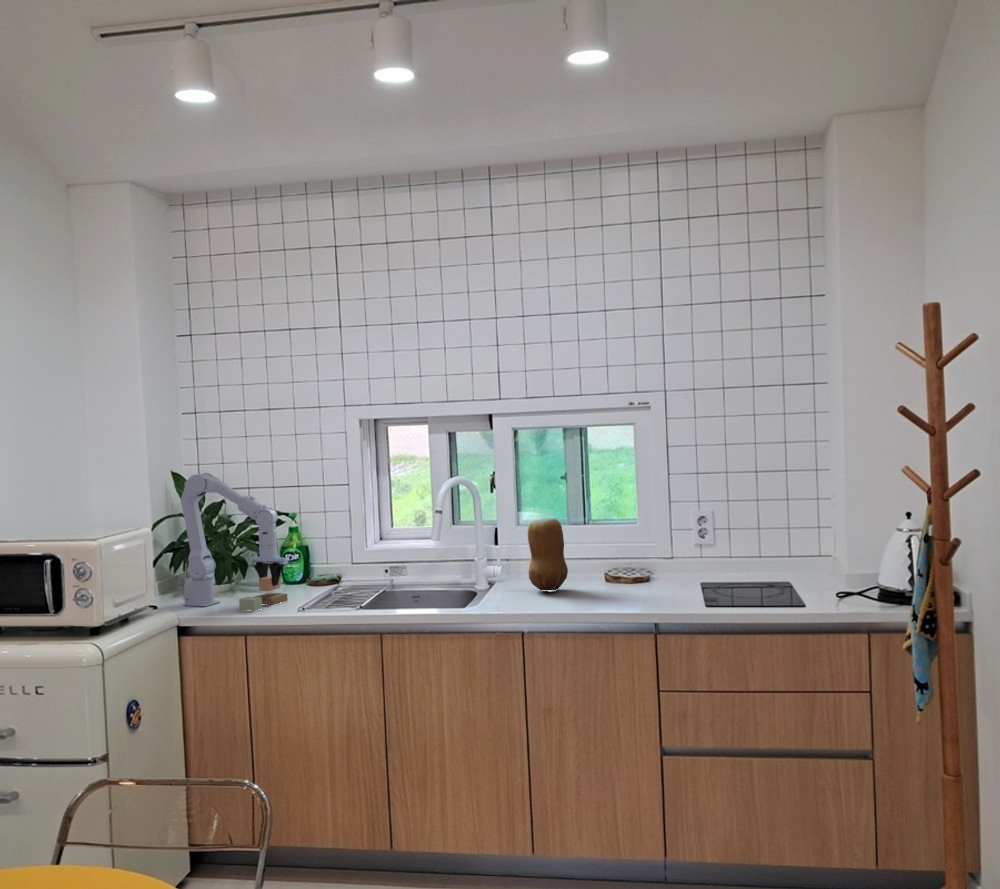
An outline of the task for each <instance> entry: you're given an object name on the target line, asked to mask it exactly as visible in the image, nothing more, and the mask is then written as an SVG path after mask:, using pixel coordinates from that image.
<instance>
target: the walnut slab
mask: <svg viewBox="0 0 1000 889" xmlns="http://www.w3.org/2000/svg"><path fill="white" fill-rule="evenodd" d="M254 597H259V598H262V604H267V605H274V604H277V603H280V602H284V601H287V600H288V593H284V592H282V593H281V592H280V593H279V592H265V593H262V594H258V595H255V596H254ZM287 602H288V601H287ZM284 603H285V602H284ZM274 606H275V605H274Z"/></svg>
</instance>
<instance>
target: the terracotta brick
mask: <svg viewBox="0 0 1000 889" xmlns="http://www.w3.org/2000/svg"><path fill="white" fill-rule="evenodd" d="M258 588H259V591H260V592H271V591H275V590H278V589H281V576H280V577H279V582H278V585H276V586H273V585H272V577H271V575H267V577H264V578H258Z"/></svg>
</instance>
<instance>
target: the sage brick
mask: <svg viewBox="0 0 1000 889" xmlns="http://www.w3.org/2000/svg"><path fill="white" fill-rule="evenodd" d="M238 601H239V602H238V603H239V604H238V606H239V611H240V610H251V611H255V610H258V609H261V608H262V609H263V605H262V598H259V597H255V596H245V597H243V598H239V599H238Z"/></svg>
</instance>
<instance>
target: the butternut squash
mask: <svg viewBox="0 0 1000 889" xmlns="http://www.w3.org/2000/svg"><path fill="white" fill-rule="evenodd" d="M564 541H565V540H564V531H563V527H562V525H561V523H560V521H559V520H558V519H556V518H544V519H535V520H533V521H531V522H530V523H529V524H528V526H527V542H528V547H529V551H530V556H531V557H530V562H529V567H528V579H529V581H530V582H531V584H532V585H533V586H534V587H535V588H537V589H538V590H539V589H540V590H539V591H541V590H556V589H558V588H559V587H560V588H561V586H562V585H563V583H564V582H565V581H566V579H567V578H568V572H569V568H568V564H567V563H566V560H565V554H564V552H565V542H564ZM560 588H559V589H560ZM559 589H558V590H559Z"/></svg>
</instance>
